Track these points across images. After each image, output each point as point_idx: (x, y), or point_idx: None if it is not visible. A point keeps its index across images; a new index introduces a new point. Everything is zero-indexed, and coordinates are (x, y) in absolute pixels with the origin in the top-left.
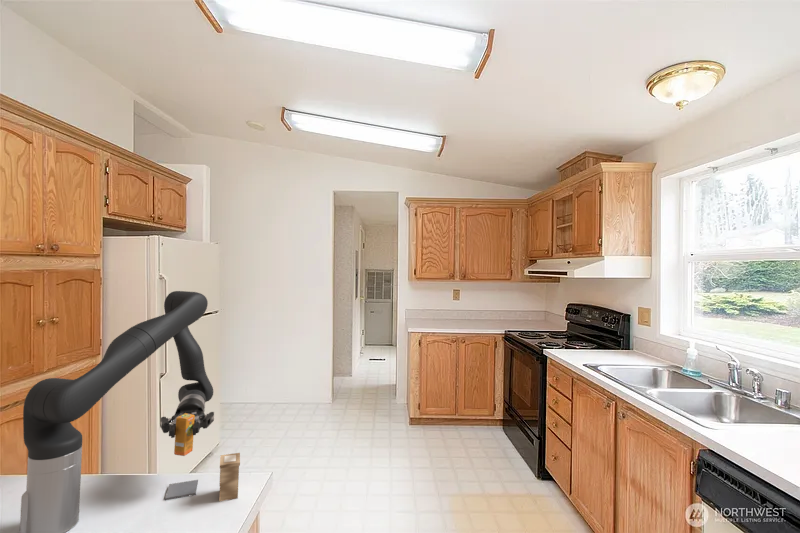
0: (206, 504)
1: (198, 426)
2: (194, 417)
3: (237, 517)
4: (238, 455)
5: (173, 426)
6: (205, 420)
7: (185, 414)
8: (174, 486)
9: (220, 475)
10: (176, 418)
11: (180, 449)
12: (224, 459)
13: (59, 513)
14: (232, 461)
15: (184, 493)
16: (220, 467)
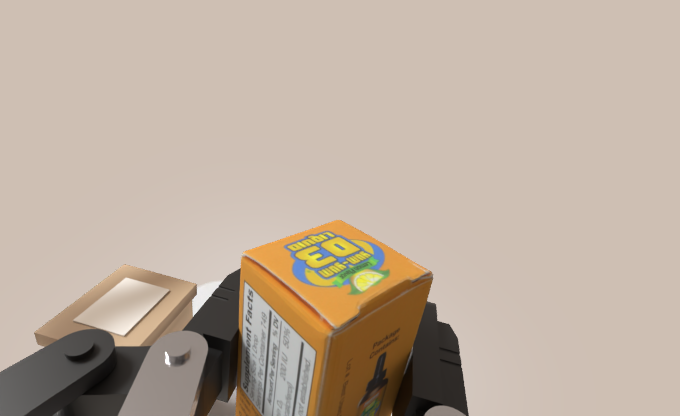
0: (234, 395)
1: (227, 283)
2: (244, 268)
3: (202, 296)
4: (70, 312)
5: (433, 352)
6: (102, 333)
7: (339, 285)
8: None
9: (192, 317)
10: (430, 275)
11: None
12: (150, 308)
13: None
14: (138, 282)
15: None
16: (194, 289)
